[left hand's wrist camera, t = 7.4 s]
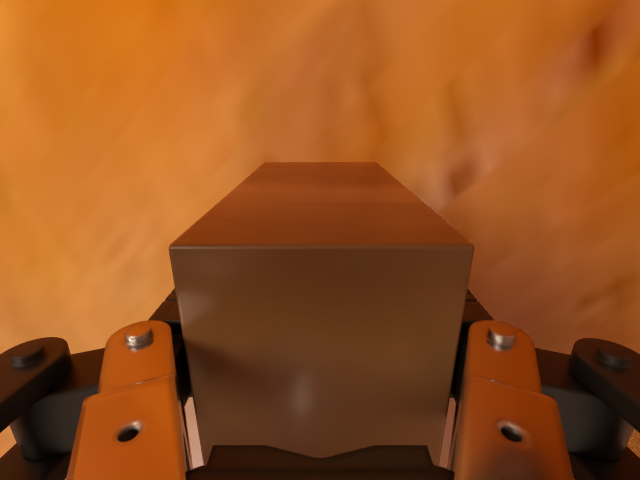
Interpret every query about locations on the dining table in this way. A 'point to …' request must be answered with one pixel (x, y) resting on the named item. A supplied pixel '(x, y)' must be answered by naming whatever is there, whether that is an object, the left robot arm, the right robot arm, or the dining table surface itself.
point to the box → (321, 311)
